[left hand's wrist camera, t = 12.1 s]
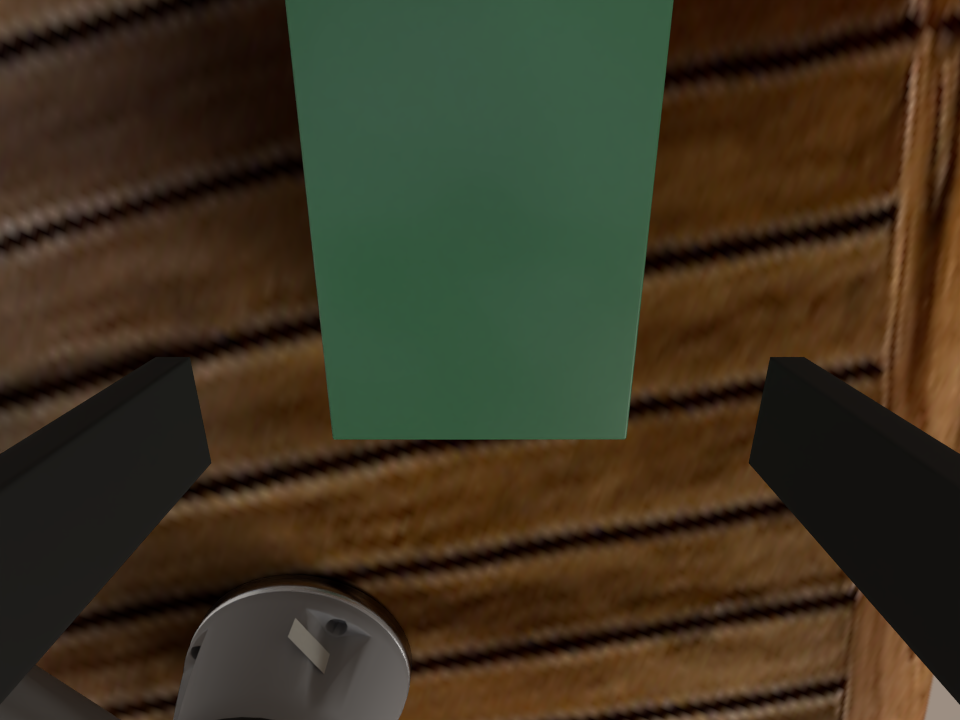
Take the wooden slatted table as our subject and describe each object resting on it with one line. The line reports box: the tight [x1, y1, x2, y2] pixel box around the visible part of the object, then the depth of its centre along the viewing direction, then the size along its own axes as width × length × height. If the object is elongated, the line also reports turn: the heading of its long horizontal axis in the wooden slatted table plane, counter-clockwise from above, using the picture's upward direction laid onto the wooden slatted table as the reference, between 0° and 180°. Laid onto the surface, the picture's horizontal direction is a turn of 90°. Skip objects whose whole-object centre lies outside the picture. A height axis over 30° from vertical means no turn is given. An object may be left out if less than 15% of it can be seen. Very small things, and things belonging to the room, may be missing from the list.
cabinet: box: [285, 0, 673, 439], centre depth 22 cm, size 21×11×11 cm, turn 0°
